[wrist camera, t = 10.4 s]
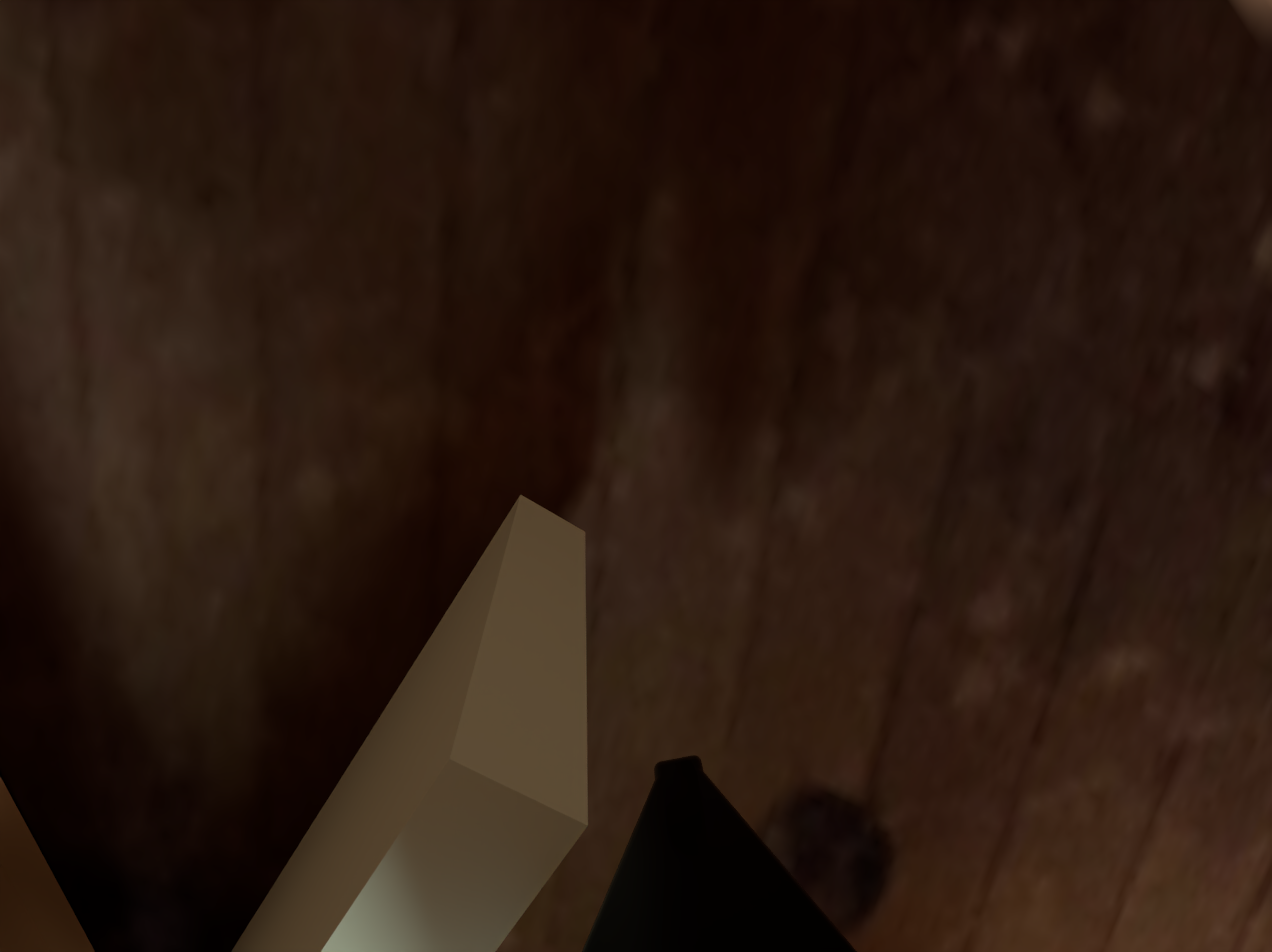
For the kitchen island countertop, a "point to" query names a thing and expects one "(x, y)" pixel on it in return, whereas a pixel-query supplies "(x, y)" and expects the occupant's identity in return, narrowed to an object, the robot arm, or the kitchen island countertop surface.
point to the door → (457, 771)
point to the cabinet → (31, 893)
